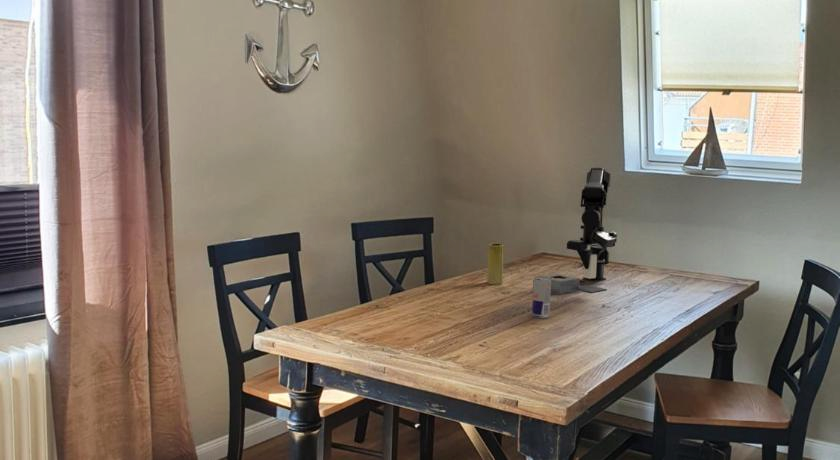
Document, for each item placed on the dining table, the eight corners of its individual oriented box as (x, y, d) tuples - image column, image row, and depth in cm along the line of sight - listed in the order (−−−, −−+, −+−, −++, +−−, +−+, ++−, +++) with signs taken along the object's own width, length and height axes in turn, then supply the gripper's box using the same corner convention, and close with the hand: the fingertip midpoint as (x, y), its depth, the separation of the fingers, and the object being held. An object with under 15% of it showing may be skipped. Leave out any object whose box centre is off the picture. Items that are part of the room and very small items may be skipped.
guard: (557, 285, 310) (558, 273, 309) (579, 290, 302) (579, 278, 302) (538, 289, 304) (538, 276, 303) (559, 294, 296) (560, 281, 295)
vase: (503, 281, 315) (504, 243, 313) (503, 285, 309) (504, 246, 307) (486, 281, 316) (487, 242, 314) (486, 284, 310) (487, 245, 308)
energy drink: (530, 314, 267) (531, 276, 265) (547, 314, 268) (548, 276, 266) (534, 318, 262) (535, 280, 260) (551, 318, 262) (552, 280, 261)
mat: (589, 286, 310) (589, 285, 310) (606, 290, 304) (606, 289, 304) (574, 288, 305) (574, 287, 305) (591, 293, 299) (591, 291, 299)
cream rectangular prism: (589, 276, 296) (590, 253, 295) (595, 277, 293) (596, 254, 292) (583, 277, 294) (584, 254, 293) (590, 278, 292) (591, 255, 290)
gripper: (592, 228, 279) (590, 275, 281) (628, 224, 290) (626, 269, 293) (566, 224, 288) (564, 269, 290) (603, 220, 299) (600, 264, 301)
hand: (589, 268), depth 293 cm, fingers closed on cream rectangular prism, 3 cm apart
